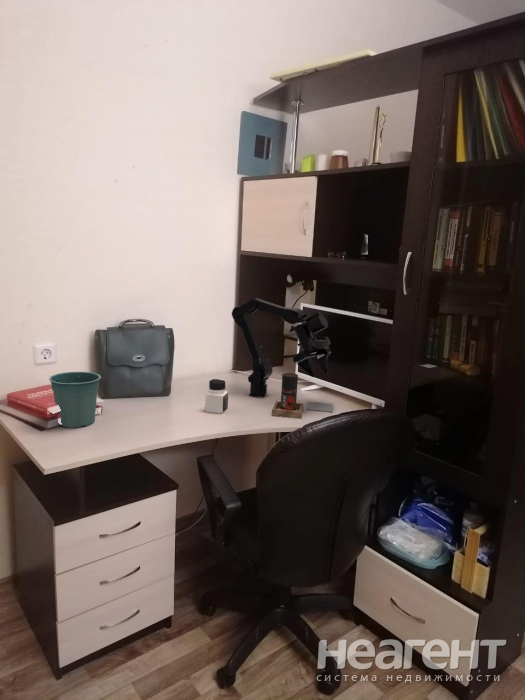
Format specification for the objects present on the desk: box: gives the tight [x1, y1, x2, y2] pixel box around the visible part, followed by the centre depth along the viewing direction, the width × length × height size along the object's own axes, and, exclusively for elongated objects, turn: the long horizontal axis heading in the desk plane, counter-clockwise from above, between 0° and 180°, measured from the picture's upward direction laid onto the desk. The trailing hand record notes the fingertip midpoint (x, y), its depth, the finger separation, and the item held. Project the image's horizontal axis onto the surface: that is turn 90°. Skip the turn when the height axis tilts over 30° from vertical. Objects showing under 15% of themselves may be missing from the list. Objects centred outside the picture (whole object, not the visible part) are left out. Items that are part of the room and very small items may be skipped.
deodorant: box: [280, 372, 299, 411], centre depth 190 cm, size 6×6×15 cm
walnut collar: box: [271, 400, 304, 419], centre depth 191 cm, size 11×11×2 cm
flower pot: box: [48, 371, 102, 429], centre depth 170 cm, size 16×16×16 cm
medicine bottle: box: [204, 378, 229, 415], centre depth 189 cm, size 7×7×12 cm
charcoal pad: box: [306, 401, 334, 413], centre depth 199 cm, size 10×10×1 cm
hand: (320, 374), depth 193 cm, fingers open, 9 cm apart
